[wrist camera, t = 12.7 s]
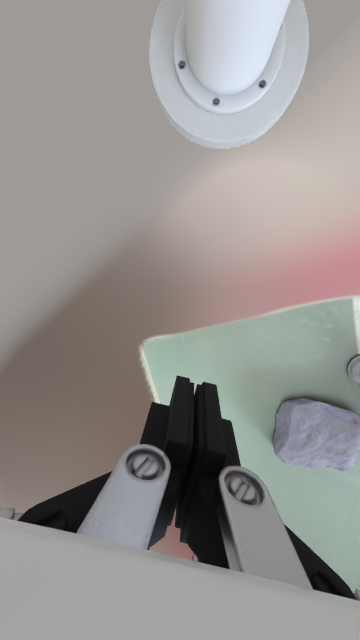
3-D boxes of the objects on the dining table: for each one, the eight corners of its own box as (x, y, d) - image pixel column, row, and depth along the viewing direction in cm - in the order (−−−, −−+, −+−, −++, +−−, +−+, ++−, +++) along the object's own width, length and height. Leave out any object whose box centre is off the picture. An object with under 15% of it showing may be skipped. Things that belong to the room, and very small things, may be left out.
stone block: (275, 389, 42) (268, 451, 42) (288, 400, 37) (279, 470, 37) (350, 397, 42) (342, 458, 42) (372, 408, 37) (363, 478, 37)
